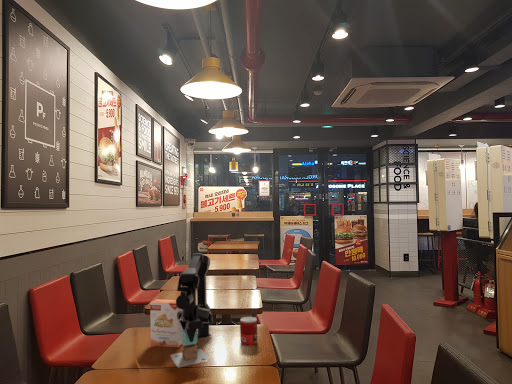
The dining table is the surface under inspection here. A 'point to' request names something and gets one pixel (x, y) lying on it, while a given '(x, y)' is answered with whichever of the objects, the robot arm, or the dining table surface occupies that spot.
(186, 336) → the teal cube
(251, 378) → the dining table surface
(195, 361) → the plate
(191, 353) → the walnut cube
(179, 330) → the cracker box
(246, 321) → the canned food
